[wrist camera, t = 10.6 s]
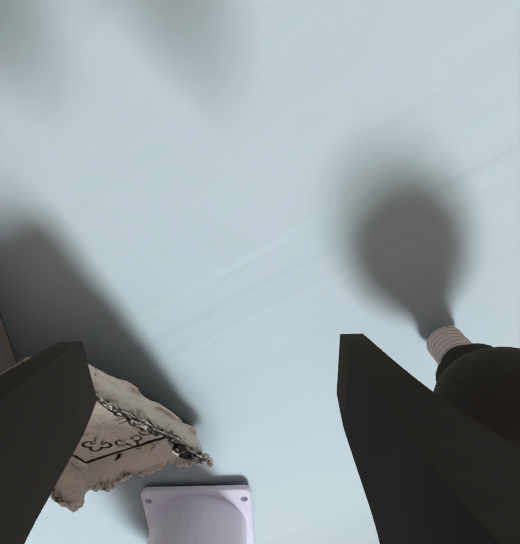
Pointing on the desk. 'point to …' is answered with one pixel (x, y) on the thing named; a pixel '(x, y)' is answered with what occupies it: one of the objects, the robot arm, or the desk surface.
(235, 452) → the desk surface
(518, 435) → the light bulb
